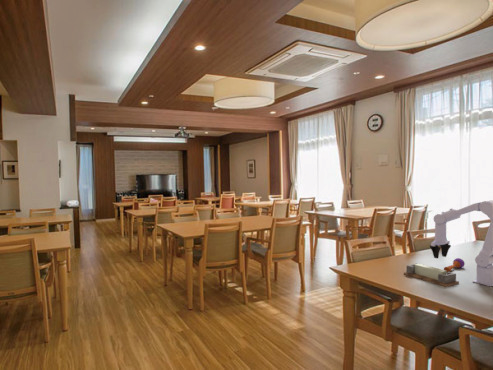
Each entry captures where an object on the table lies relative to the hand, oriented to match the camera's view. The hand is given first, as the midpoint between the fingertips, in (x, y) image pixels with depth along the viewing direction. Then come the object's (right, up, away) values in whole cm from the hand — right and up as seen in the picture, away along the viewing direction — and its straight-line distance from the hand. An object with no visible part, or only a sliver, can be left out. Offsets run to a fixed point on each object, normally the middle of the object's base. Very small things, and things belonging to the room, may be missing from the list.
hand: (440, 257), depth 196 cm
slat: (-11, -9, -10) cm, 18 cm away
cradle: (-11, -10, -10) cm, 18 cm away
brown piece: (+13, -10, +8) cm, 19 cm away
